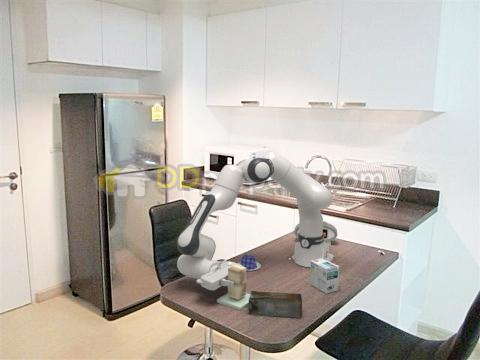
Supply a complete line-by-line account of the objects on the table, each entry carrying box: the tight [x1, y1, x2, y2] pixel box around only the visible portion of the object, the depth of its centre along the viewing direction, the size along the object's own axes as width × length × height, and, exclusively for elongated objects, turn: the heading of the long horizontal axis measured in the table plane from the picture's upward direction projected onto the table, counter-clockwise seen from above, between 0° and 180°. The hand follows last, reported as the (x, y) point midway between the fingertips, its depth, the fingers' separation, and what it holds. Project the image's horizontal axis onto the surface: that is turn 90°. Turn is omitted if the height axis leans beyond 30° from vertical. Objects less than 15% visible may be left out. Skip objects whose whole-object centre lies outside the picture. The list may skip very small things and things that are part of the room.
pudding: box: [236, 254, 262, 272], centre depth 189 cm, size 12×12×5 cm
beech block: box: [227, 265, 247, 299], centre depth 154 cm, size 5×5×11 cm
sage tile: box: [216, 292, 251, 311], centre depth 155 cm, size 11×11×1 cm
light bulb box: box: [309, 258, 340, 294], centre depth 167 cm, size 11×7×11 cm, turn 30°
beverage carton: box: [248, 290, 303, 319], centre depth 147 cm, size 8×19×7 cm, turn 82°
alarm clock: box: [293, 220, 338, 246], centre depth 222 cm, size 23×6×13 cm, turn 79°
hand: (239, 281), depth 153 cm, fingers closed on beech block, 5 cm apart
